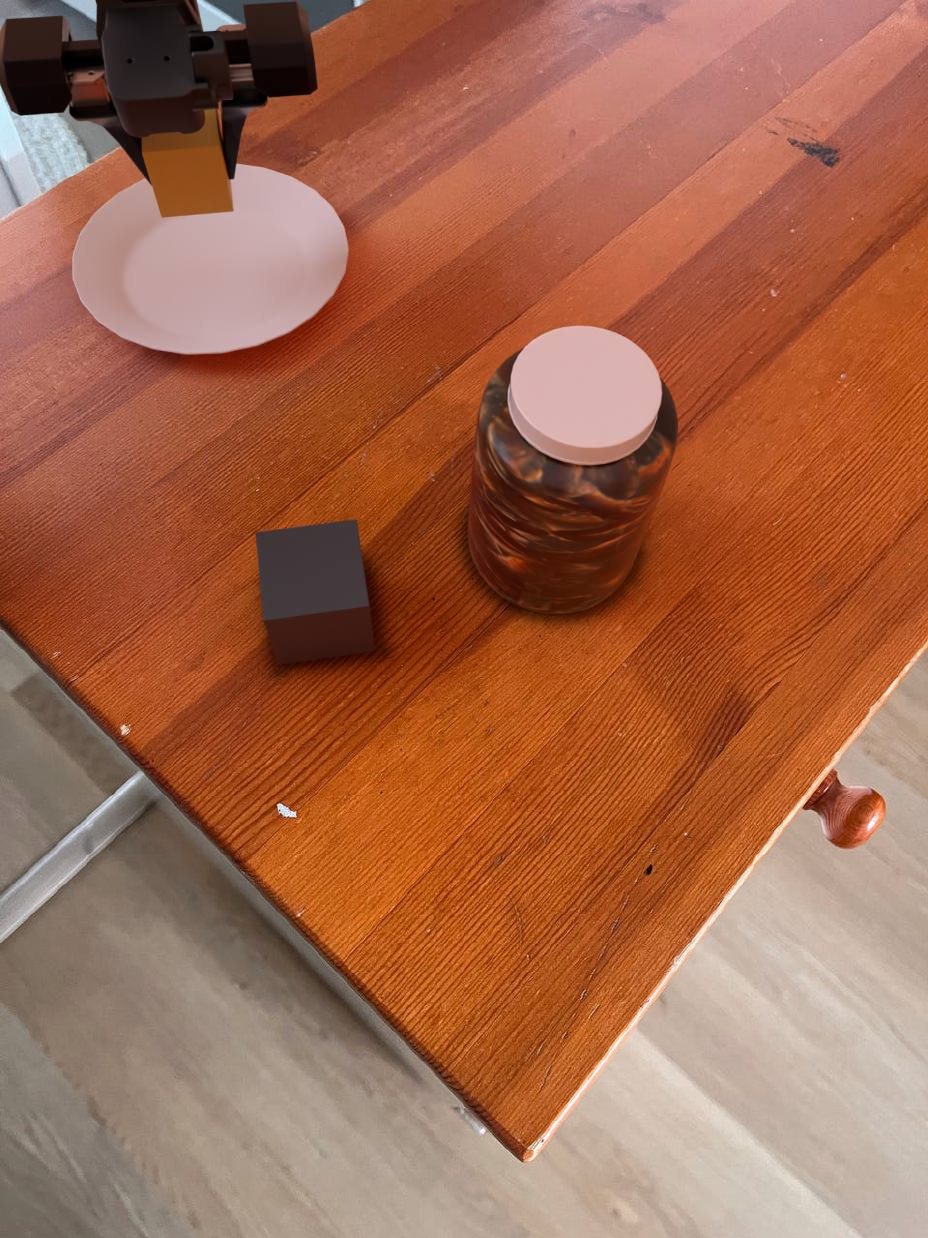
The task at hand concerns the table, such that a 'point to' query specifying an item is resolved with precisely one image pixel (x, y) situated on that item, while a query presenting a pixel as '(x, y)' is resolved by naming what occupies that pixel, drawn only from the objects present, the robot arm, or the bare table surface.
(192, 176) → the top block
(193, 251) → the plate
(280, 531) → the base block
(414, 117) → the table surface
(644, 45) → the table surface
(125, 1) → the robot arm
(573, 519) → the jar
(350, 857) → the table surface
